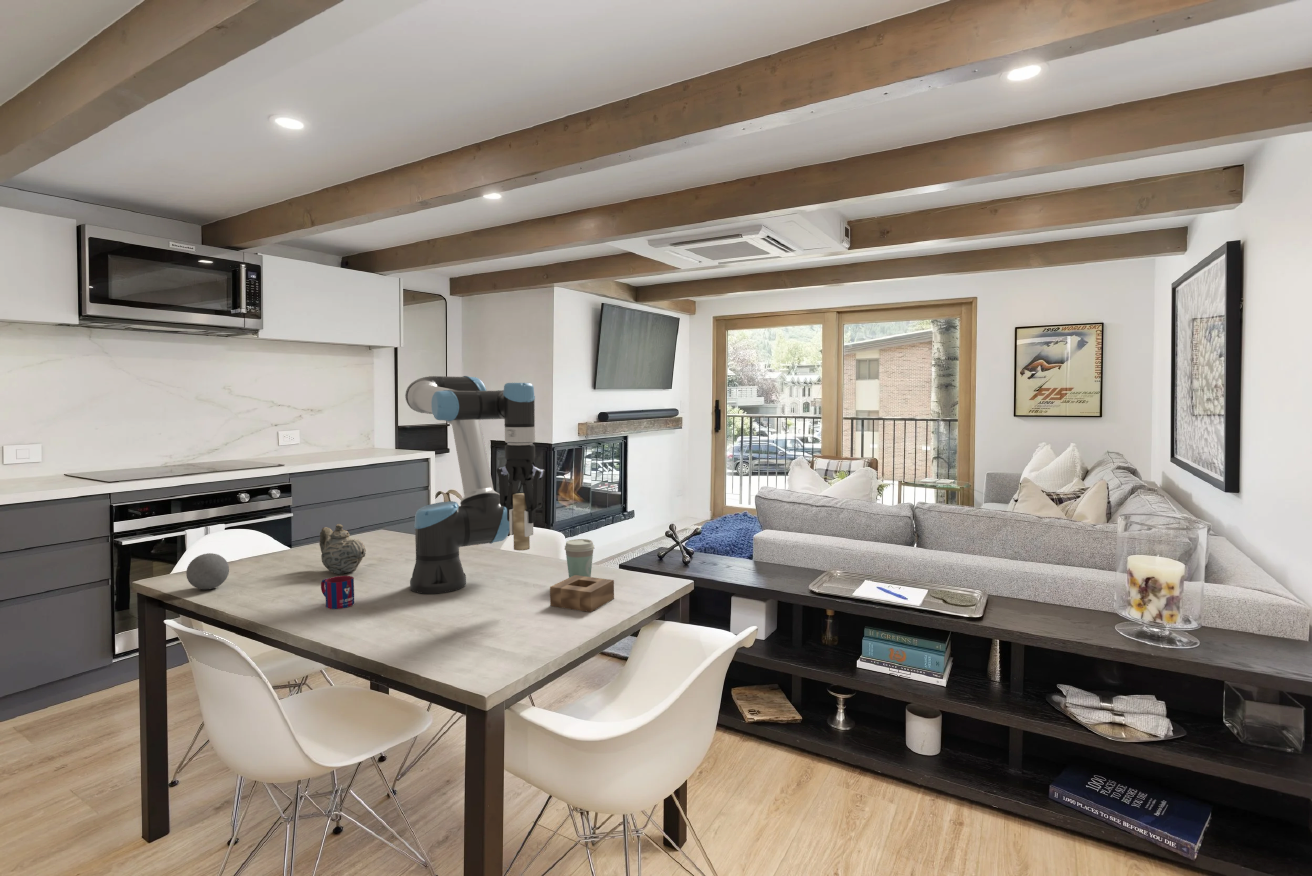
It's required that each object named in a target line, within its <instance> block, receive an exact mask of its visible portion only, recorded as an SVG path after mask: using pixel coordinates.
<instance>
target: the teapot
mask: <svg viewBox="0 0 1312 876" xmlns="http://www.w3.org/2000/svg"><path fill="white" fill-rule="evenodd" d="M343 528H344V525H342V524H341V523H337V524H336V525H335V529H334V530H332V529H331V528H330V527H327V526H325V527H322V529H321V531H320V533H319V543H318V544H319V548H320V552H321V556H320V557H321V562H322V564H323V566H324V567H325V568H326V569H327V570H328V571H329V573H330V572H331V573H333V574H336V575H342V574H343V573H344V574H349V573H353V572H355V571H356V570H357V568H358V567H359V566H360V564H361V562H362V560H363V558H364V557H366V554H367V553H366V552H367V550H366V547H365V544H364V542H362V541H361V540H359V539H355V538H354V539H352V538H350V532H349V531H348V530H346V529H343Z"/></svg>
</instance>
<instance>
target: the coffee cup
mask: <svg viewBox="0 0 1312 876" xmlns="http://www.w3.org/2000/svg"><path fill="white" fill-rule="evenodd" d="M594 549H595V545H594V541H593V540H592V539H588V538H585V539H584V538H581V539H580V538H575V539H571V540H569V539H568V540H567V541H566V543H565V545H564V550H565V555H566V556H565V558H566V564H567V571H568V572H567V573H568V578H570V577H572V576H574V575H578V576H586V577H592V568H593V567H592V566H593V558H594V557H593V556H594Z"/></svg>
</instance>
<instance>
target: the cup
mask: <svg viewBox="0 0 1312 876" xmlns="http://www.w3.org/2000/svg"><path fill="white" fill-rule="evenodd" d="M354 579H355V577H354V576H352V575H338V576H333V577H332V576H331V577H329V578H323V579H322V580H321V583H320V590H321V592H322V595H323V596H324V598H325V608H327V609H330V610H340V609H346V608H348V607H352V606H353V605H355V580H354Z"/></svg>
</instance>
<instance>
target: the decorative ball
mask: <svg viewBox="0 0 1312 876" xmlns="http://www.w3.org/2000/svg"><path fill="white" fill-rule="evenodd" d="M186 568H187V569H186V572H185V573H186V579H187V581H188V583H189V584H190V585H192V587H194V588H196V589H199V590H203V591H204V590H213V589H215V588H217V587H220V586H221V585H222V584H224V583H225V581H226V580H227V579H228V576H229V573H230V565H229V563H228V561H227V560H226V559H225V558H224V557H223V556H222V555H220V554H217V553H213V552H212V553H211V552H210V553H209V552H208V553H203V554H200V555H197V556H196V557H194V558H193V559H192V560H191V561H190V562H189V564H188V566H187V567H186Z"/></svg>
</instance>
